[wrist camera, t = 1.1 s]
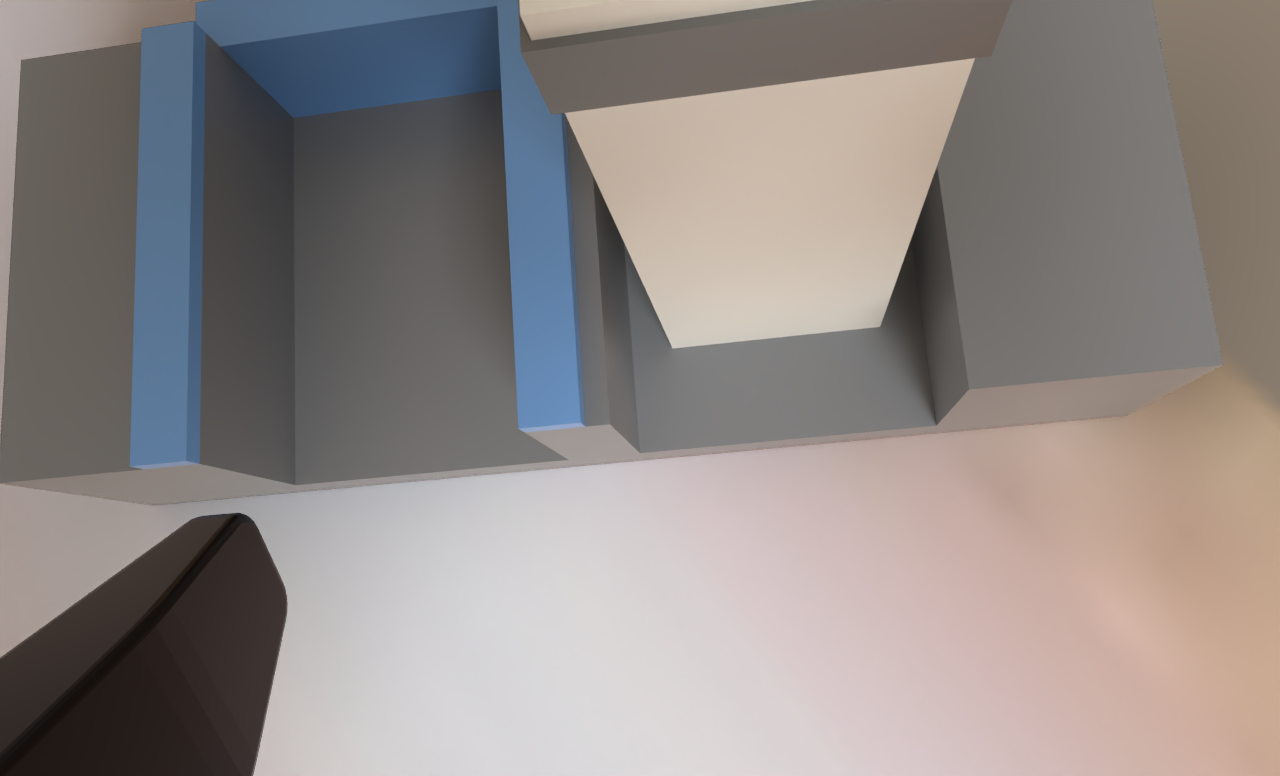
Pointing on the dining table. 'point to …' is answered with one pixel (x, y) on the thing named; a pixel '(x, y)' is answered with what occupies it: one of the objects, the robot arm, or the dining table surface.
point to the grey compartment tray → (535, 263)
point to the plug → (760, 144)
